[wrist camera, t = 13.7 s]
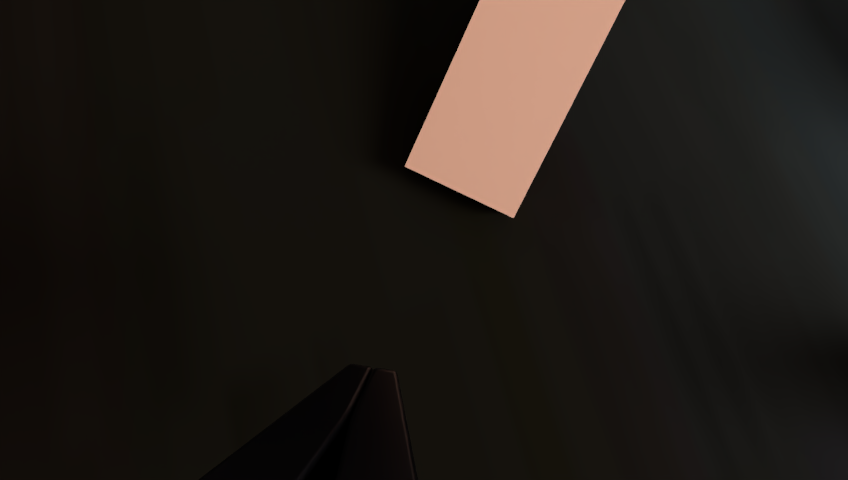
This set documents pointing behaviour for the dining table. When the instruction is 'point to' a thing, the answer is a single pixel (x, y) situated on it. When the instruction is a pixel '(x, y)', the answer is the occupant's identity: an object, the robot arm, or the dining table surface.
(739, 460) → the dining table surface
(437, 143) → the domino
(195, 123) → the dining table surface
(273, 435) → the robot arm
